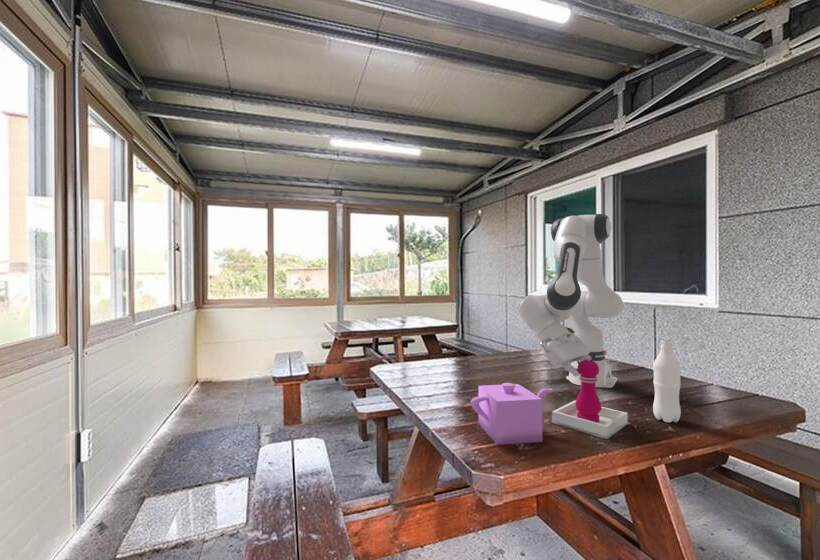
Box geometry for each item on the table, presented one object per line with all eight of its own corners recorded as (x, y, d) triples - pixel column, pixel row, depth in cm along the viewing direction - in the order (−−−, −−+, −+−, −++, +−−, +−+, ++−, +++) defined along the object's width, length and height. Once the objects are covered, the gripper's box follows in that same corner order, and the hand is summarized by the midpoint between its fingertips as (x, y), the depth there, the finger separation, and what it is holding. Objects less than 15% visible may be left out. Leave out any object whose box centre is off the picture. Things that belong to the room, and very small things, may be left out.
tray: (575, 410, 127) (575, 400, 126) (627, 424, 115) (627, 412, 115) (551, 422, 116) (551, 411, 116) (606, 439, 104) (606, 426, 104)
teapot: (566, 440, 104) (566, 389, 104) (479, 446, 100) (479, 393, 100) (539, 419, 119) (539, 375, 119) (462, 424, 115) (463, 378, 115)
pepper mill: (602, 426, 111) (602, 358, 111) (575, 422, 114) (575, 356, 114) (600, 417, 118) (600, 354, 118) (574, 414, 121) (575, 352, 120)
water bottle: (685, 425, 114) (685, 342, 114) (659, 423, 115) (659, 341, 115) (673, 416, 121) (674, 338, 121) (649, 415, 122) (649, 338, 122)
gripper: (544, 334, 115) (577, 372, 108) (574, 328, 129) (605, 361, 121) (531, 347, 118) (561, 384, 111) (562, 339, 132) (590, 372, 125)
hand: (584, 372), depth 116 cm, fingers open, 8 cm apart
